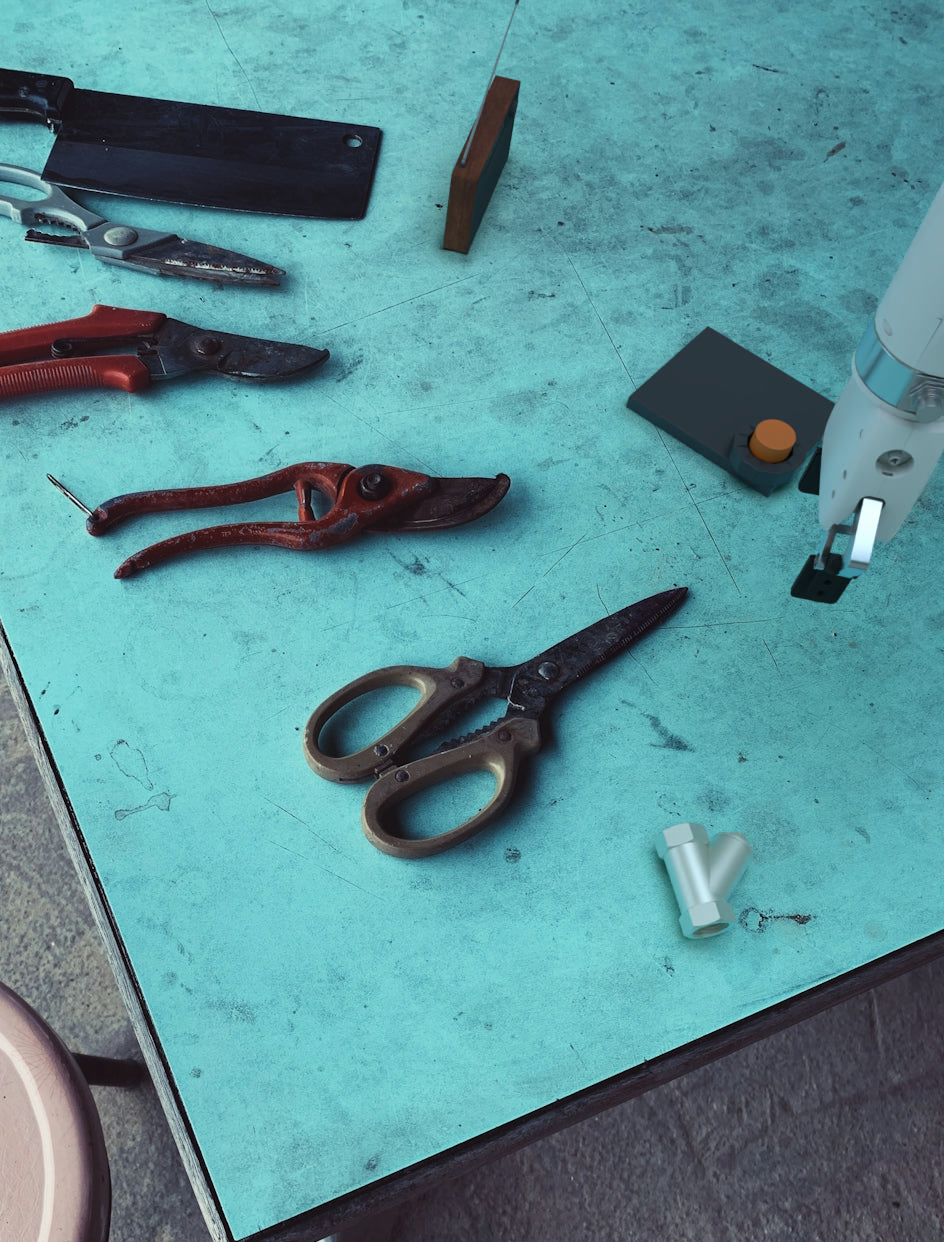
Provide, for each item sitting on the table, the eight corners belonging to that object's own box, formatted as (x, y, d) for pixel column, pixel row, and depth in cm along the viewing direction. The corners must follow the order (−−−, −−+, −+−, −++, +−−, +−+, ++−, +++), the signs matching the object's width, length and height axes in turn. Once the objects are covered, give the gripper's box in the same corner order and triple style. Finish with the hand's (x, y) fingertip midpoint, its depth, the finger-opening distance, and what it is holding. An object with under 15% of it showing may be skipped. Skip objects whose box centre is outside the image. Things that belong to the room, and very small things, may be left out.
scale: (849, 425, 113) (862, 402, 110) (769, 507, 108) (780, 485, 106) (703, 336, 118) (712, 312, 115) (620, 411, 113) (628, 387, 110)
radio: (470, 256, 122) (491, 115, 109) (442, 249, 122) (459, 107, 109) (516, 146, 130) (541, 2, 117) (489, 140, 130) (511, -5, 117)
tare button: (796, 447, 108) (803, 434, 106) (774, 469, 107) (781, 456, 105) (763, 427, 109) (770, 412, 107) (741, 448, 108) (747, 434, 106)
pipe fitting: (729, 836, 94) (649, 845, 92) (750, 814, 90) (666, 823, 89) (763, 931, 90) (679, 942, 89) (785, 911, 87) (699, 923, 85)
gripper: (992, 479, 66) (864, 652, 81) (987, 269, 74) (871, 463, 89) (856, 454, 67) (754, 630, 82) (864, 248, 74) (770, 445, 90)
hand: (815, 543), depth 86 cm, fingers open, 9 cm apart
